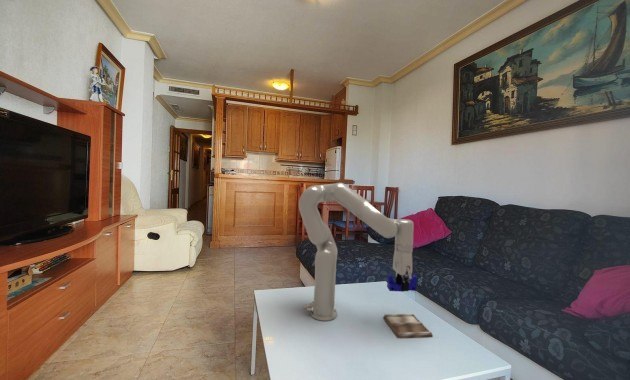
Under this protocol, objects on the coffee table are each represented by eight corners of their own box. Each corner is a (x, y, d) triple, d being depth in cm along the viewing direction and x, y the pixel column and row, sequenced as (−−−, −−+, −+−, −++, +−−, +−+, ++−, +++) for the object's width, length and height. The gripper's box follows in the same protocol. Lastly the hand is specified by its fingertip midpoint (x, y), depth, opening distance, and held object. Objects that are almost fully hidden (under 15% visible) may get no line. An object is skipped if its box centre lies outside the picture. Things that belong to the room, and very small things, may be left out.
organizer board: (397, 338, 105) (397, 333, 105) (383, 318, 120) (383, 314, 120) (432, 337, 107) (432, 332, 107) (414, 317, 122) (414, 313, 122)
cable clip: (389, 291, 114) (390, 277, 114) (387, 286, 118) (387, 273, 118) (417, 292, 114) (418, 278, 113) (413, 287, 118) (414, 274, 118)
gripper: (387, 243, 123) (386, 281, 124) (404, 253, 107) (402, 297, 107) (403, 243, 124) (401, 280, 125) (421, 253, 107) (419, 296, 108)
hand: (401, 287), depth 116 cm, fingers closed on cable clip, 4 cm apart
